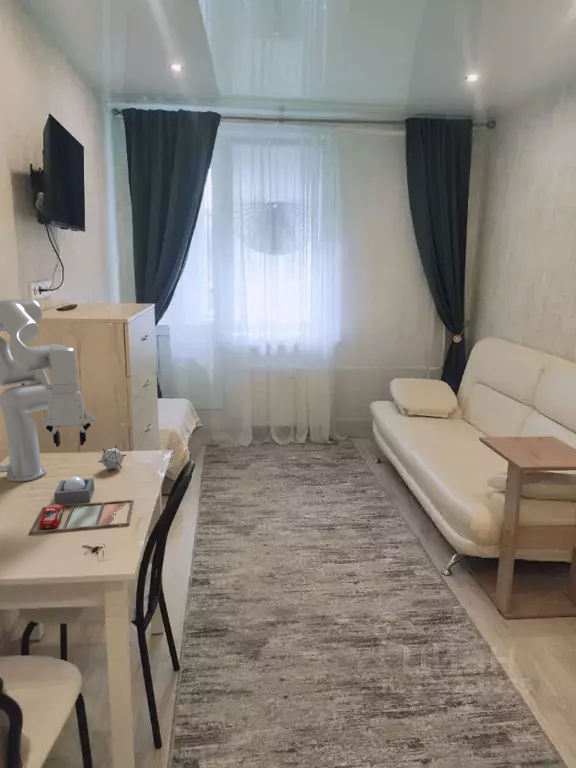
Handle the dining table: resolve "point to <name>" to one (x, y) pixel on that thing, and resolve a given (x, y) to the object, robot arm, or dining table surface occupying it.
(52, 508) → the race car
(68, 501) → the base
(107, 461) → the game die
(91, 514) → the brown divided frame
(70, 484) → the dome
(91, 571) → the dining table surface
